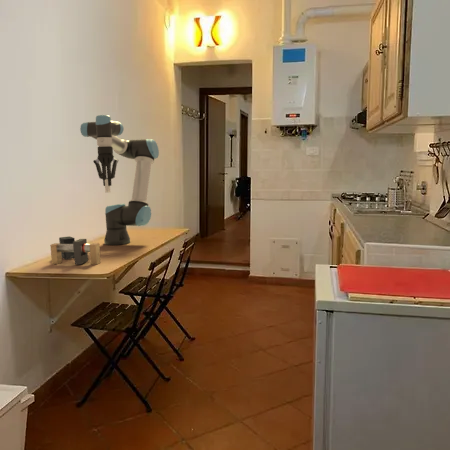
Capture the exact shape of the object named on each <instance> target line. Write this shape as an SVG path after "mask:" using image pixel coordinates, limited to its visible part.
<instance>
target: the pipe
mask: <svg viewBox="0 0 450 450" xmlns="http://www.w3.org/2000/svg"><path fill="white" fill-rule="evenodd" d="M80 246H81V252H88V253H89V254H90V265H98V264H101V262H102V261H101V249H100V243H99V242H94V243H87V244H82V245H80ZM61 252H74V249H73V244H60V242H55V243H51V244H50V255H51V256H50V257H51V265H59V264H62V263H63V260H62V259H63V258H62V257H61Z"/></svg>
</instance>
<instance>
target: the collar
mask: <svg viewBox="0 0 450 450" xmlns="http://www.w3.org/2000/svg"><path fill="white" fill-rule="evenodd" d="M82 244H88V241H87V238H79V239H76V240H75V241H74V242H73V249H74V258H73V259H74V260H73V261H74V265H83V264H85V263H87V262H88V261H89V254H88V253H89V252H81V246H80V245H82Z"/></svg>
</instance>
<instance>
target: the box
mask: <svg viewBox="0 0 450 450" xmlns="http://www.w3.org/2000/svg"><path fill="white" fill-rule="evenodd" d="M58 240H59V242H58V243H60V244H73V242H74V241H76V240H75V237H74V236H73V237H72V236H61V237H59V238H58ZM61 257H62V259H63V260H71V259H74V252H61Z"/></svg>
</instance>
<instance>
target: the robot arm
mask: <svg viewBox="0 0 450 450" xmlns="http://www.w3.org/2000/svg"><path fill="white" fill-rule="evenodd" d="M111 118H112V117H111V116H110V115H107V114H100V115H96V117H95V121H88V122H83V123H81V124H80V127H79V128H80V129H79V130H80V133H81V135H82V137H87V138H88V137H89V138H90V137H91V138H93V139H95V140H96V144H97V145H96V146H97V156H96V157H97V158H96V159H94V160H93V163H94V165H95V167H96V171H97V174H98V178H99V179H100V180H102V183H103V186H104V188H105V193H111V186H112V179H114V178H115V177H116V171H117V166H118V165H117V164H118V163H119V159H118V158H117V159H116V158H115V156H114V153H116V154H118V155H119V156H121V157H123V158H126V159H131V160H134V161H135V162H136V165H135V173H134V180H133V187H132V194H131V199H130V200H129V201H128V203H127V205H126V204H125V203H119V204H112V205H107V206H106V207H105V212H104V214H105V226H106V228H105V229H106V231H105V236H104V240H103V241H104V245H106V246H118V245H119V246H120V245H127V244H130V243H131V237H130V235H129V233H128V230H127V227H128V226H129V227H130V226H131V227H141V226H142V227H143V226H146V225H147V224H149V223H150V221H151V218H152V208H151V207H150V206H149V203H148V202H147V198H148V192H149V190H148V189H149V183H150V176H151V175H150V174H151V166H152V165H153V164H154V163H155V159H158V157H159V155H160V152H159V151H160V150H159V146H158V143H157V142H156V140H154V139H152V138H145V139H124V138H120V137H118V136H121V135H122V134H123V133H124V125H123V124H122V123H121V122H120V121H117V120H112V119H111Z"/></svg>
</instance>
